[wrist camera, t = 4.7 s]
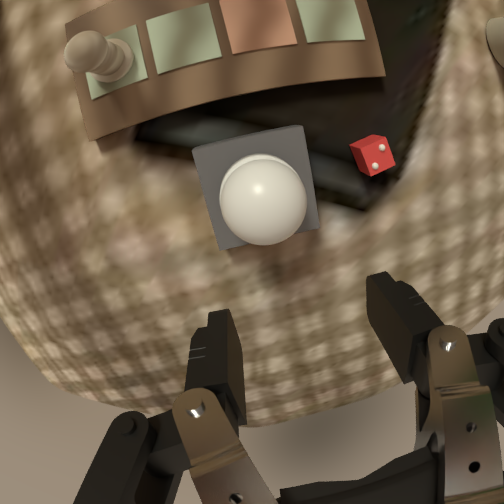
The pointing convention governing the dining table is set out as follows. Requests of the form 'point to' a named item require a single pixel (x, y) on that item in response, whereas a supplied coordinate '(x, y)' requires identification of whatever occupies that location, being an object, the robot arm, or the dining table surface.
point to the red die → (372, 154)
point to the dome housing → (231, 150)
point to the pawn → (99, 56)
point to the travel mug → (496, 38)
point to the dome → (262, 199)
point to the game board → (220, 53)
